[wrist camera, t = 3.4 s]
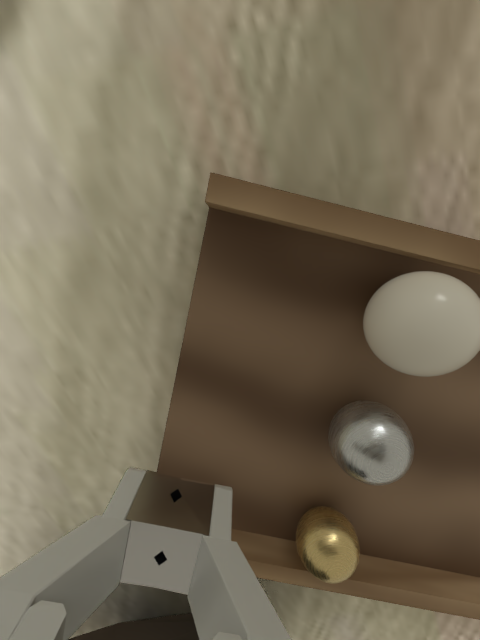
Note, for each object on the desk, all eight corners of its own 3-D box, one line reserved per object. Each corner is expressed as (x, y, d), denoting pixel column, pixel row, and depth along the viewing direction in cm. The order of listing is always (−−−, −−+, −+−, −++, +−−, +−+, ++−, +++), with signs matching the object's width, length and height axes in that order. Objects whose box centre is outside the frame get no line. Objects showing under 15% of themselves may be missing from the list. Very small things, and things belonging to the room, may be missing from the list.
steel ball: (331, 380, 14) (359, 421, 11) (398, 395, 14) (447, 440, 11) (311, 441, 15) (331, 496, 11) (375, 454, 15) (413, 513, 12)
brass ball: (299, 487, 15) (313, 542, 12) (354, 498, 15) (380, 556, 13) (284, 531, 16) (294, 594, 13) (337, 541, 16) (358, 606, 13)
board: (219, 193, 14) (210, 172, 10) (760, 329, 16) (931, 355, 12) (158, 490, 18) (136, 554, 15) (592, 577, 20) (678, 657, 16)
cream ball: (365, 258, 13) (420, 261, 9) (452, 279, 13) (544, 292, 9) (337, 344, 13) (375, 382, 10) (418, 362, 14) (488, 407, 10)
